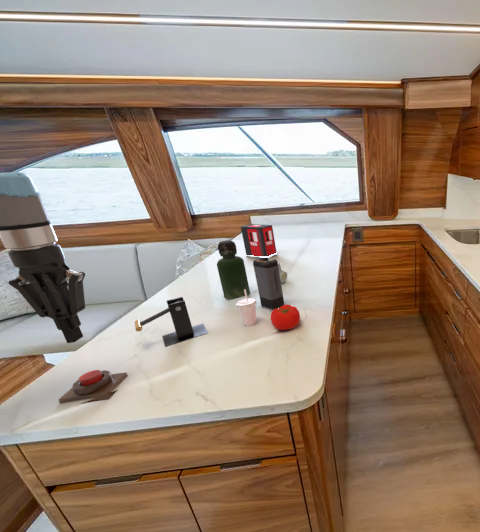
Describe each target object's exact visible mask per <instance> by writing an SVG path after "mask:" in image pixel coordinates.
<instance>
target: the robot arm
mask: <svg viewBox="0 0 480 532" xmlns="http://www.w3.org/2000/svg"><path fill="white" fill-rule="evenodd" d="M0 240H1V243H2V245H3V247H4V248H5V249H7V250H9V251H8V252H7V255H8V257H9V259H10V260H11V263H12V265H13V267H14V268H17V269H18V276H16V278H13V279H11V280H9V281H8V285H9V286H11V287H12V288H14V289H15V290H16V291H18V292H19V294H20V295H21V296H22V298H24V299H25V300H26V302H27V303H28V304H29V305H30V307H31V308H32V309H33V311H35V313H36V314H37V315H38V316H39V317H40V318H50V319H52V320H53V322H54V324H55V327H56V329H57V330H58V331H61V333H62V334H63V337H64V340H65V342H66V343H67V344H72V343H76V342H77V341H79V340H81V339H82V338H84V334H83V332H82V330H81V328H80V327H81V326H82V322H81V320H80V318H79V316H78V313H80V312H82V311H84V310H85V309H86V301H85V299H86V298H85V291H84V279H85V276H86V272H84V271H79V272H77V271H74V270H71V268H70V266H69V265H67V263H66V262H65V259H66V256H65V254H64V251H63V249H62V246H61V244H58V243H57V242H58V238H57V235H56V232H55V230H54V227H53V225H52V222H51V221H50V218H49V216H48V213H47V210H46V207H45V206H44V203H43V201H42V198H41V194H40V191H39V190H38V188H37V187H36V184H35V182H34V181H33V178H32V177H31V176H30V175H29V174H28V173H25V172H21V171H18V172H17V171H14V172H12V171H11V172H0Z"/></svg>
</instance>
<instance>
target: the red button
mask: <svg viewBox="0 0 480 532" xmlns="http://www.w3.org/2000/svg"><path fill="white" fill-rule="evenodd" d="M101 371H102V370H100V369H93V370H90V371H88V372H86V373H84V374H82V375H80V376H79V378H78V380H79V381H80V383H81V385H82V386H84V385H89V384H92V383H95V382H97V381H99V380H101V379H102V378H103V375H102V373H101Z"/></svg>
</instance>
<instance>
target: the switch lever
mask: <svg viewBox="0 0 480 532" xmlns="http://www.w3.org/2000/svg"><path fill="white" fill-rule="evenodd" d="M179 301H180V300H177V301H175V302H173V303H176V302H179ZM171 304H172V303H171ZM168 313H170V310H169V308H168V307H167V308H165V309H164V310H162V311H159V312H158V313H156V314H153V315H152V316H150V317H147V318H146V319H144V320H141V319H136V320H135V321H134V330H135V331H136V332H142V331H143V326H144V325H147V324H149V323H151V322H153V321H155V320H157V319H158V318H160V317H162V316H164V315H166V314H168Z"/></svg>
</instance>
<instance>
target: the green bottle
mask: <svg viewBox="0 0 480 532" xmlns="http://www.w3.org/2000/svg"><path fill="white" fill-rule="evenodd" d="M217 250H218V254H219V256H220V257H221V258H219V260H218V261H217V262H216V268H217V272H218V277H219V281H220V284H221V289H222V293H223V298H224V299H225V300H236V299H240V298H244V297H245V292H244V290H245V289H246V293H247V296H248V295H250V293H251V290H250V285H249V280H248V275H247V271H246V265H245V261H244V259H243V257H241V256H238V255H237V254H238V253H237V252H238V250H237V245H236V243H235V241H234V240H223V241H219V242H218V244H217Z"/></svg>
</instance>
